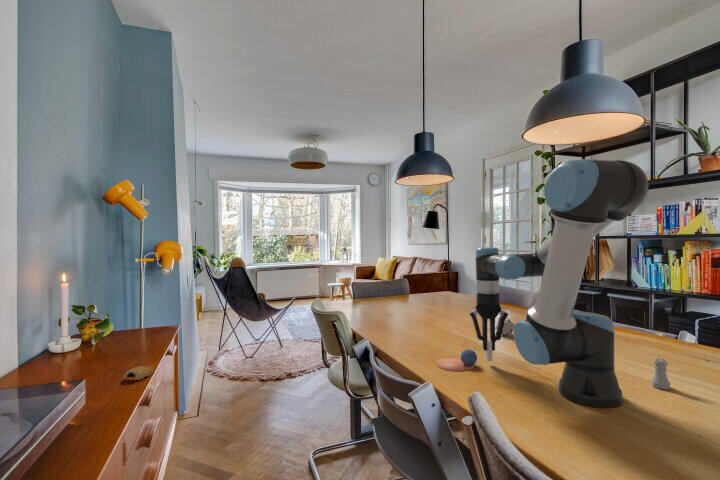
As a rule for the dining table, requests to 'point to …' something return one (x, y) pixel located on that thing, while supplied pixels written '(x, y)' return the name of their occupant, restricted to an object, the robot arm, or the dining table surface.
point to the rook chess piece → (660, 375)
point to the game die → (507, 327)
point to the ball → (468, 357)
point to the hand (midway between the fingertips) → (489, 359)
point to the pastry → (140, 371)
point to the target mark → (453, 364)
